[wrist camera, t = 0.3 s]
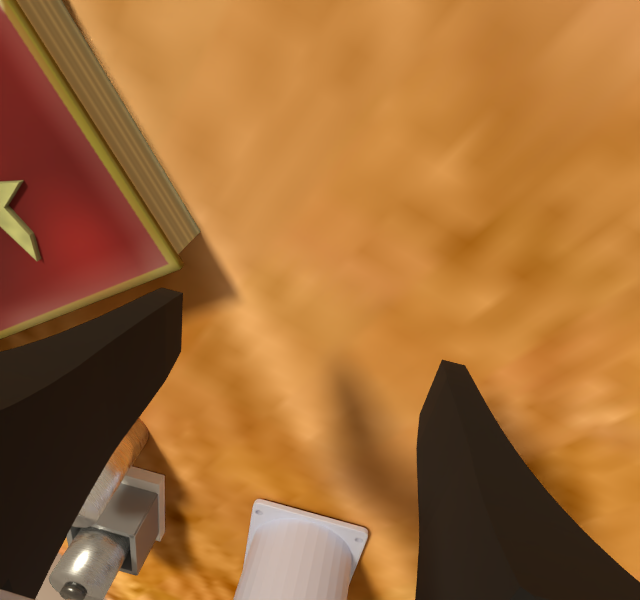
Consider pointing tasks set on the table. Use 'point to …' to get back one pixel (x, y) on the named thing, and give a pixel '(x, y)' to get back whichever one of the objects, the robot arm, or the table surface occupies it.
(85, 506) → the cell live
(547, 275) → the table surface
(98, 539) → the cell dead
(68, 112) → the hardcover book
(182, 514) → the table surface
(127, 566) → the battery holder
